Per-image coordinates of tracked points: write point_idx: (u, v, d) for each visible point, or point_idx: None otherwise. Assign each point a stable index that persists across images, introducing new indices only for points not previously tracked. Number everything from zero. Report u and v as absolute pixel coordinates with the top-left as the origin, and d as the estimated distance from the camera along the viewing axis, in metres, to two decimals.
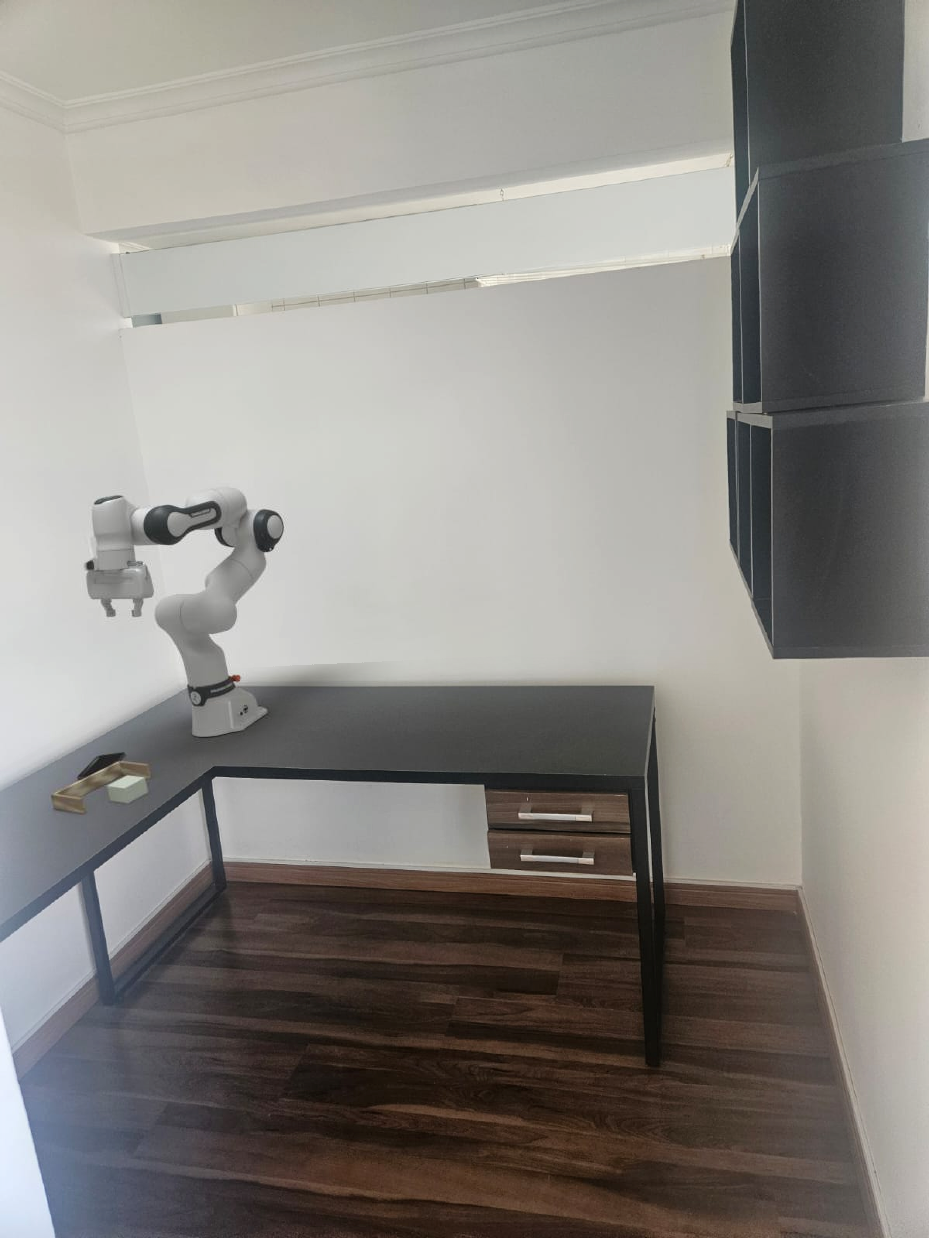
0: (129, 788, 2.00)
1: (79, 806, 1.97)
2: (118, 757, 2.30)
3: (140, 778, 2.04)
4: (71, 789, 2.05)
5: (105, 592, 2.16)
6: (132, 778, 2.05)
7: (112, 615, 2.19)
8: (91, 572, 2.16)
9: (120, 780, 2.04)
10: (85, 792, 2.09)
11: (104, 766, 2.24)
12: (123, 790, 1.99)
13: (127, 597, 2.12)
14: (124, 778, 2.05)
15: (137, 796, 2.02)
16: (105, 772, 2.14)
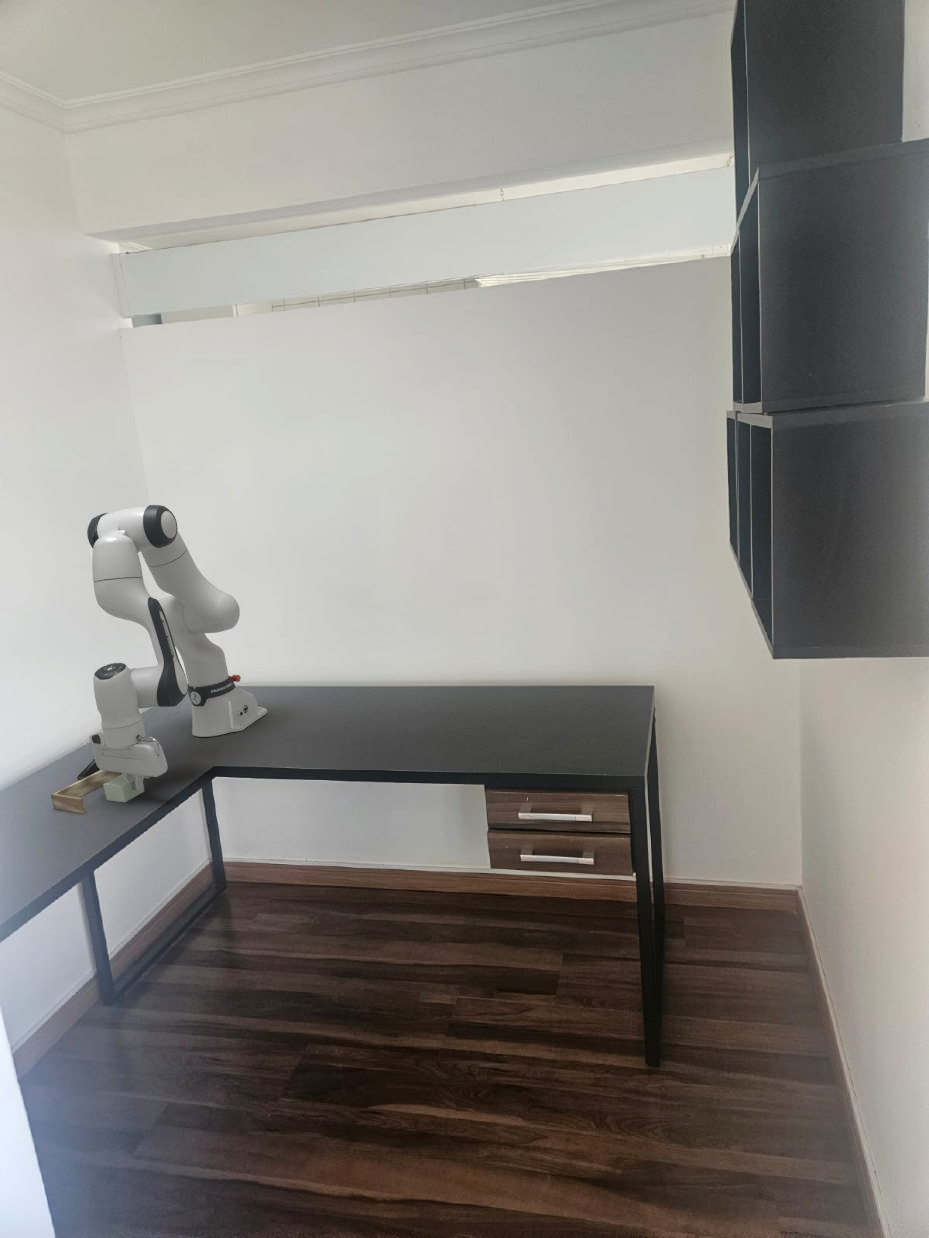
0: (126, 786, 2.01)
1: (79, 806, 1.97)
2: None
3: None
4: (71, 789, 2.05)
5: (114, 765, 2.01)
6: None
7: None
8: (98, 745, 2.00)
9: (116, 779, 2.04)
10: (85, 792, 2.09)
11: None
12: (120, 789, 2.00)
13: (139, 773, 1.97)
14: (119, 777, 2.06)
15: (134, 794, 2.03)
16: (105, 772, 2.14)
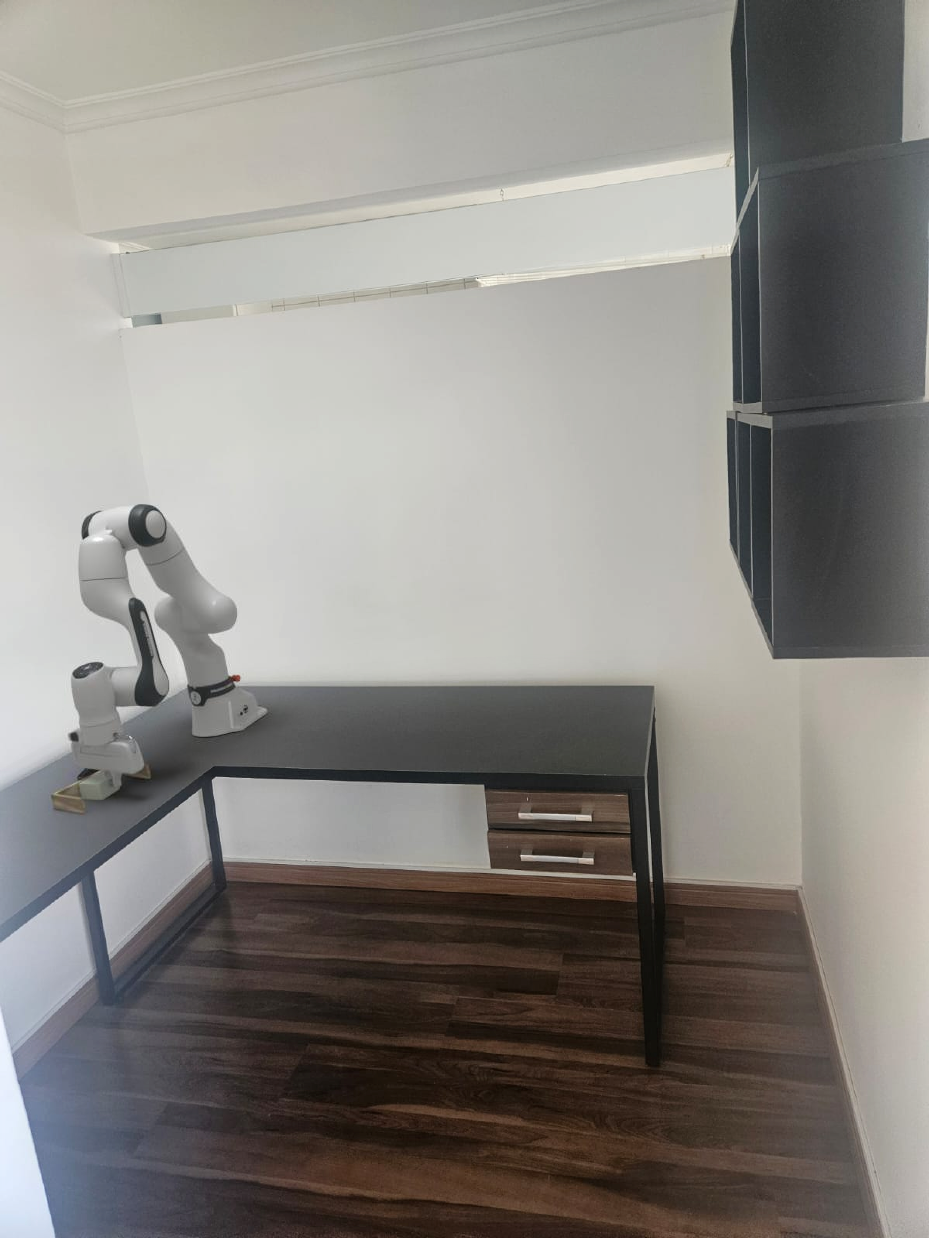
0: (103, 784, 2.04)
1: (79, 806, 1.97)
2: None
3: None
4: (71, 789, 2.05)
5: (92, 762, 2.04)
6: None
7: None
8: (76, 743, 2.04)
9: (91, 778, 2.07)
10: None
11: None
12: (97, 787, 2.03)
13: (116, 771, 2.01)
14: (94, 776, 2.09)
15: (110, 792, 2.06)
16: None
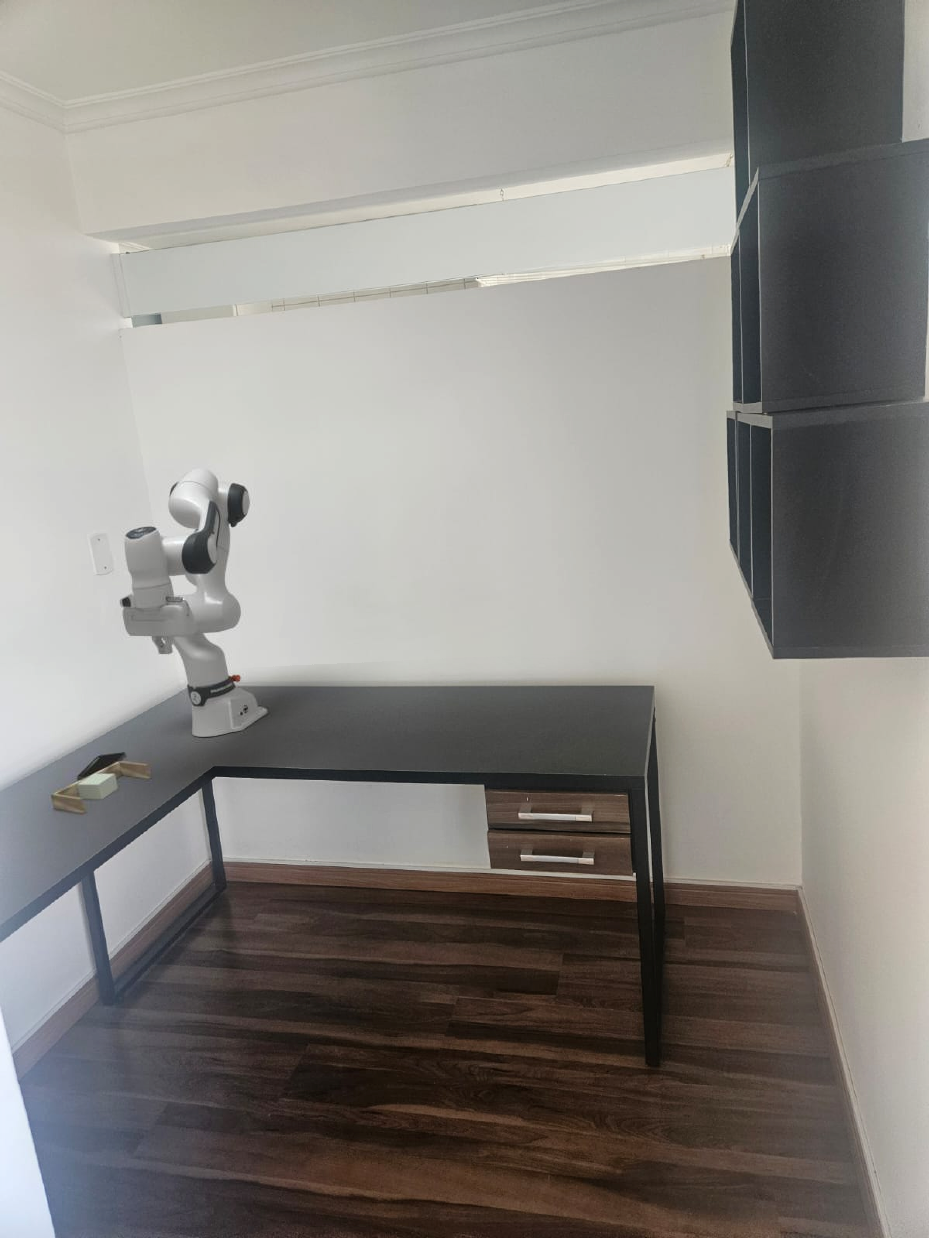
0: (102, 784, 2.05)
1: (79, 806, 1.97)
2: (118, 757, 2.29)
3: (110, 775, 2.08)
4: (71, 789, 2.05)
5: (144, 629, 2.04)
6: (100, 775, 2.09)
7: None
8: (128, 609, 2.04)
9: (90, 779, 2.07)
10: None
11: (104, 766, 2.24)
12: (96, 787, 2.04)
13: (169, 635, 2.01)
14: (92, 776, 2.09)
15: (109, 792, 2.07)
16: (105, 772, 2.14)
